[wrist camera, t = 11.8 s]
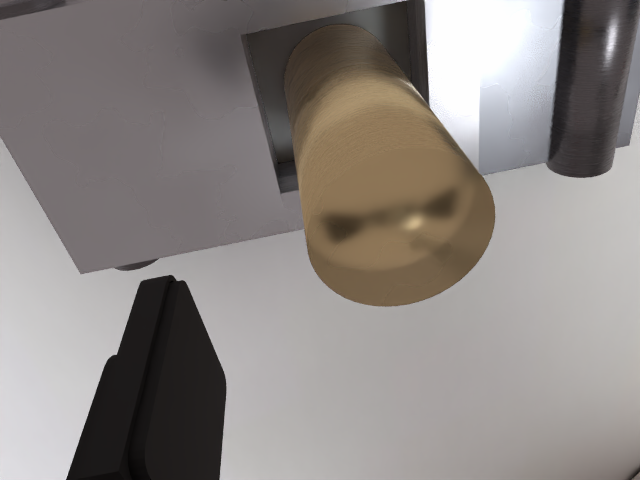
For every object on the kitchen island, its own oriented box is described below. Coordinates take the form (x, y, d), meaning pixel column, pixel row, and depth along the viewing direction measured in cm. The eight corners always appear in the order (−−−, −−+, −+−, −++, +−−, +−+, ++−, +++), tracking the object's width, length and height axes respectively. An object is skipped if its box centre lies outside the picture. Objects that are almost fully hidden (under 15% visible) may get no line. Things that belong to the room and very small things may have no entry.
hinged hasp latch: (660, -142, 16) (716, -145, 14) (610, 139, 22) (646, 165, 20) (-29, 4, 16) (-67, 22, 14) (99, 243, 22) (84, 280, 20)
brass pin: (386, 13, 18) (498, 128, 10) (396, 120, 20) (492, 287, 12) (273, 37, 18) (288, 172, 10) (295, 141, 20) (323, 320, 12)
